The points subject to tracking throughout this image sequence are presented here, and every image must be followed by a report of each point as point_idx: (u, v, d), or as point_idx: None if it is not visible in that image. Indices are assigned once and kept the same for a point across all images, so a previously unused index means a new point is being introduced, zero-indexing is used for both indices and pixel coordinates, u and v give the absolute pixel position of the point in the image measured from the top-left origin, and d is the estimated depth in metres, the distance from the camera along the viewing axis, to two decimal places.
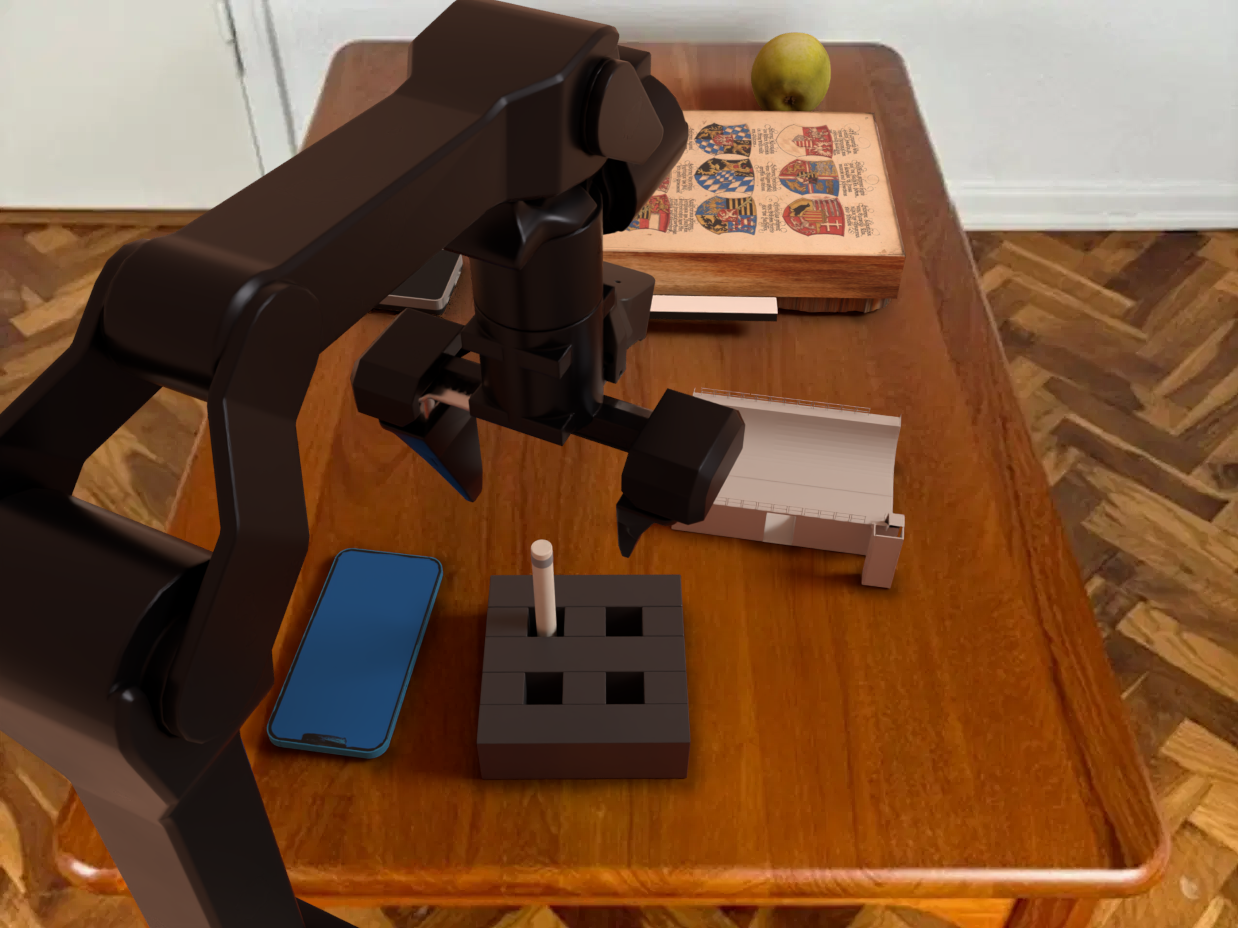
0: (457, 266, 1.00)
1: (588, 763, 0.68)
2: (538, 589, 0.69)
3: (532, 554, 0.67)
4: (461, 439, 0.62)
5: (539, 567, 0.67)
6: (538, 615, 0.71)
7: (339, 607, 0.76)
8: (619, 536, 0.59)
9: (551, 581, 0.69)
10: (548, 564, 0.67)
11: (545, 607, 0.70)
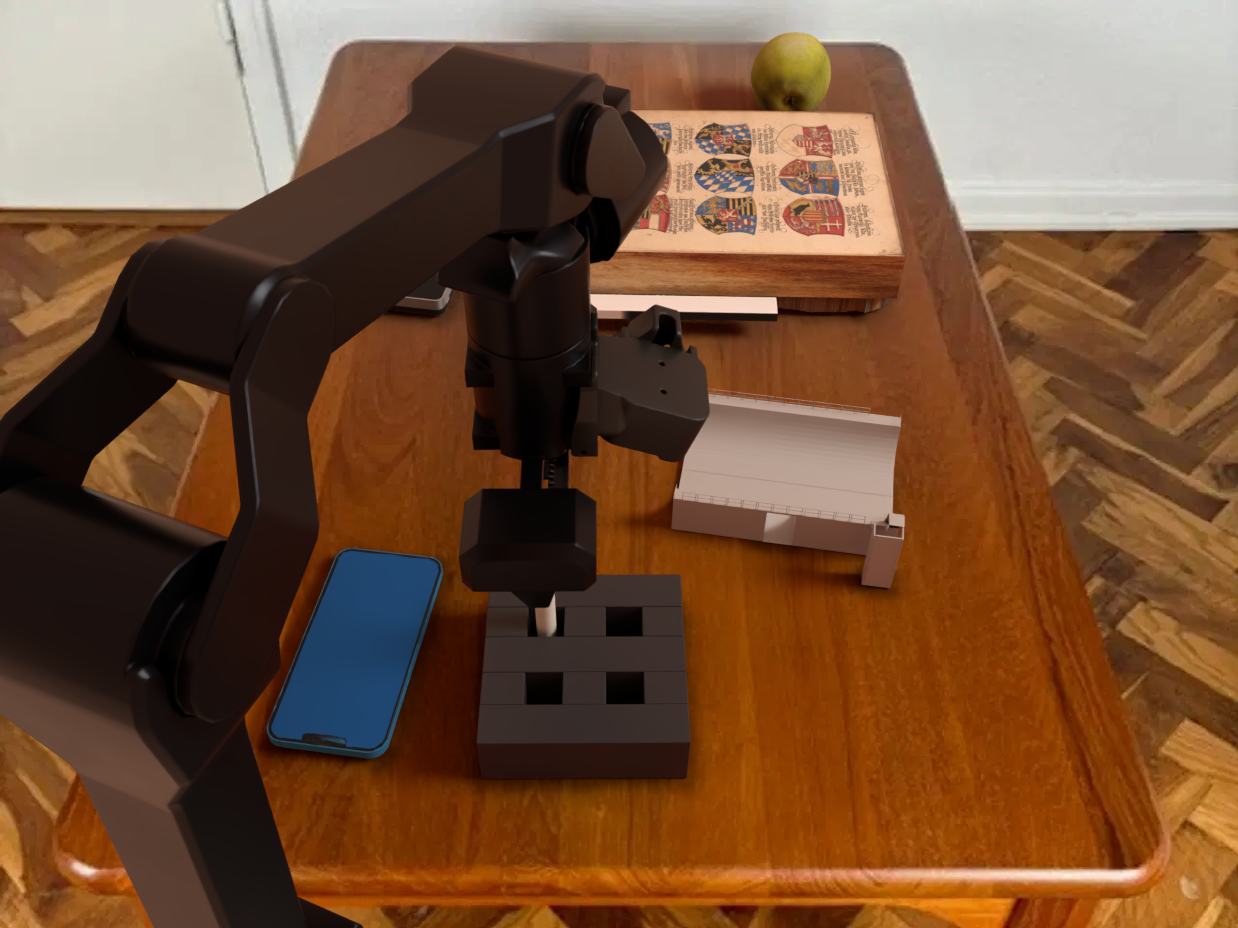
0: None
1: (588, 763, 0.68)
2: None
3: None
4: None
5: None
6: (538, 615, 0.71)
7: (339, 607, 0.76)
8: None
9: None
10: None
11: None
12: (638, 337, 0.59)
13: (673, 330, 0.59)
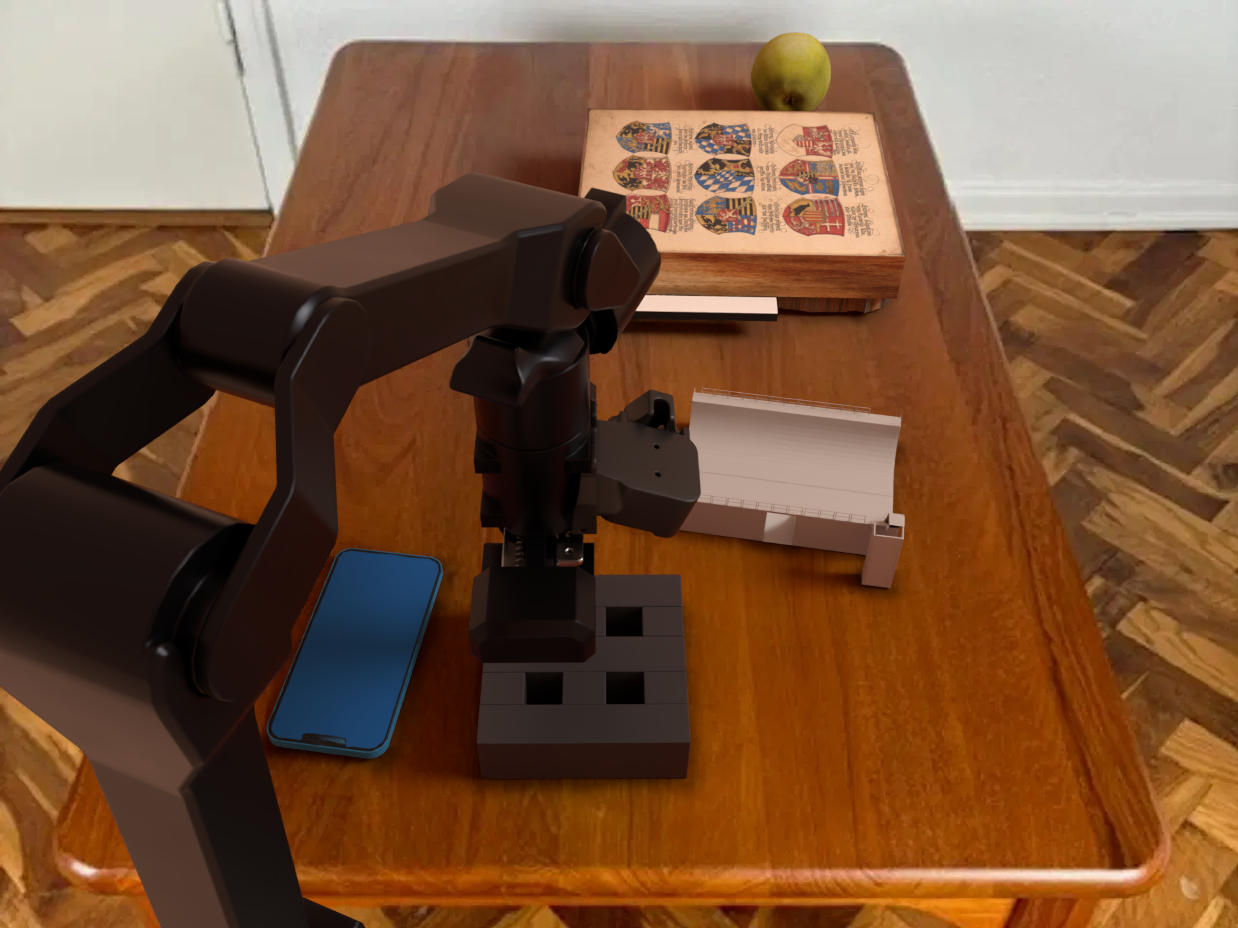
0: None
1: (588, 763, 0.68)
2: None
3: None
4: None
5: None
6: None
7: (339, 607, 0.76)
8: None
9: None
10: None
11: None
12: (635, 421, 0.63)
13: (667, 414, 0.64)
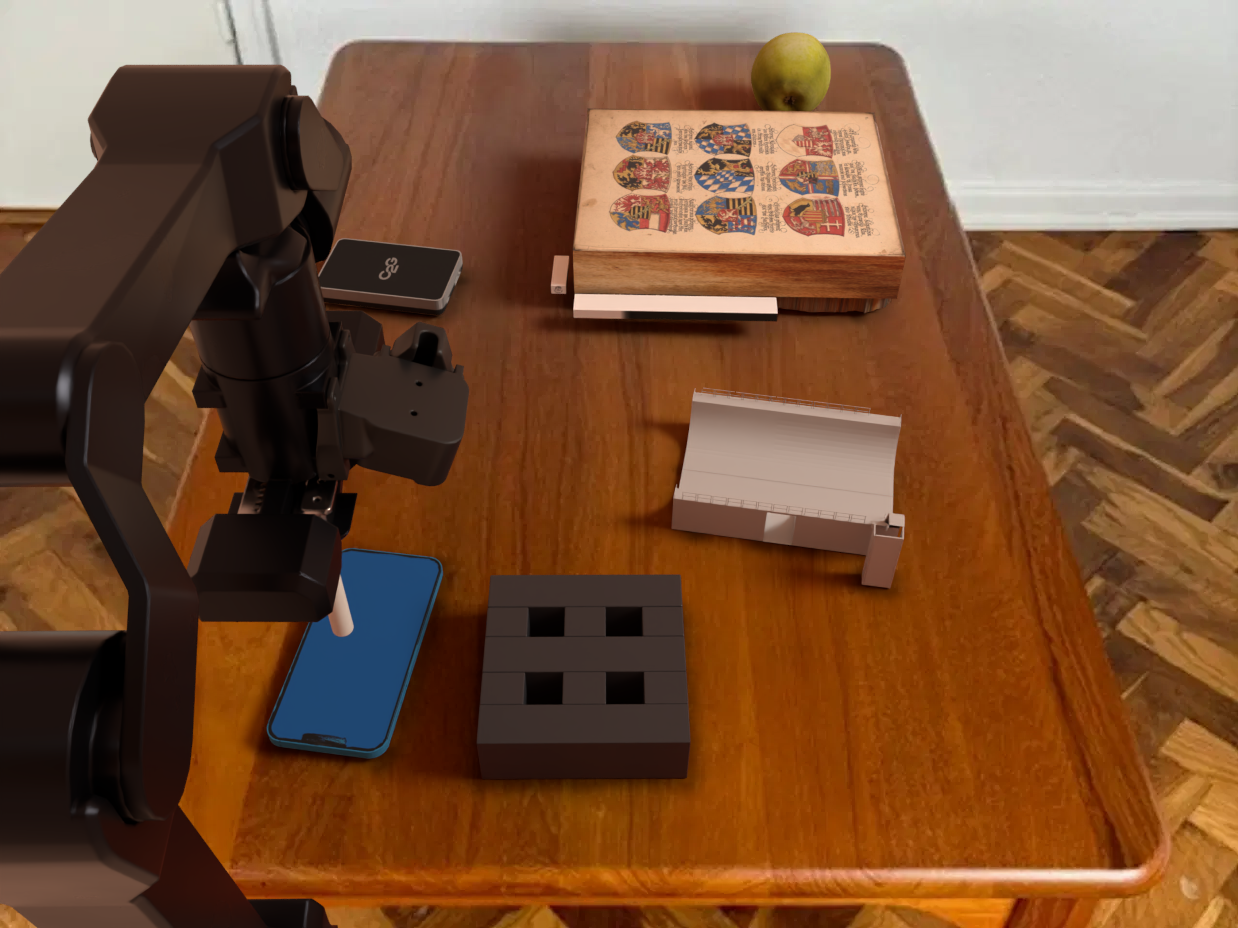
0: (457, 266, 1.00)
1: (588, 763, 0.68)
2: None
3: None
4: None
5: None
6: None
7: None
8: None
9: None
10: None
11: None
12: (398, 356, 0.57)
13: (436, 348, 0.57)
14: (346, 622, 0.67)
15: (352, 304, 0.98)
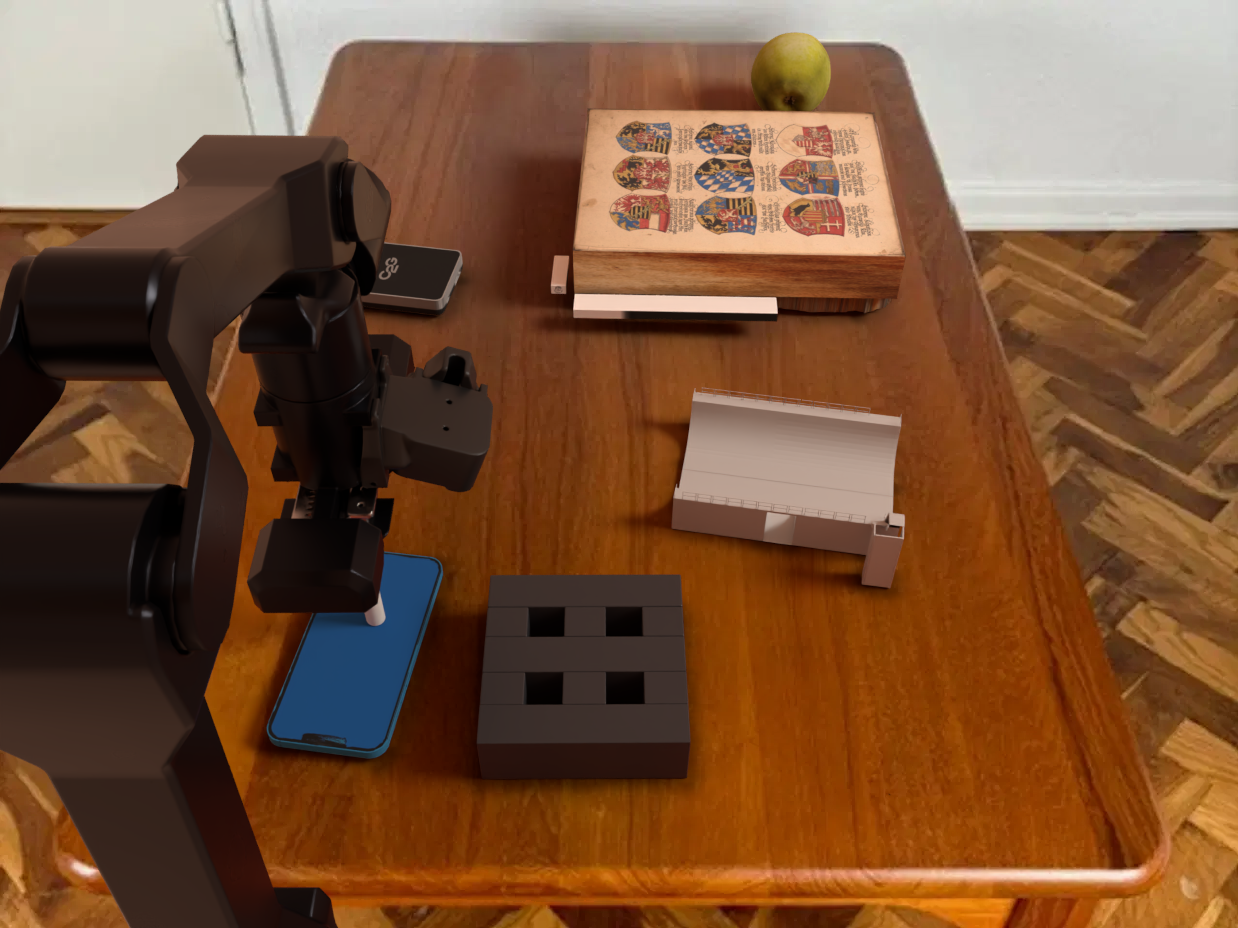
0: (457, 266, 1.00)
1: (588, 763, 0.68)
2: None
3: None
4: None
5: None
6: None
7: None
8: None
9: None
10: None
11: None
12: (430, 377, 0.64)
13: (463, 370, 0.64)
14: (379, 612, 0.75)
15: None
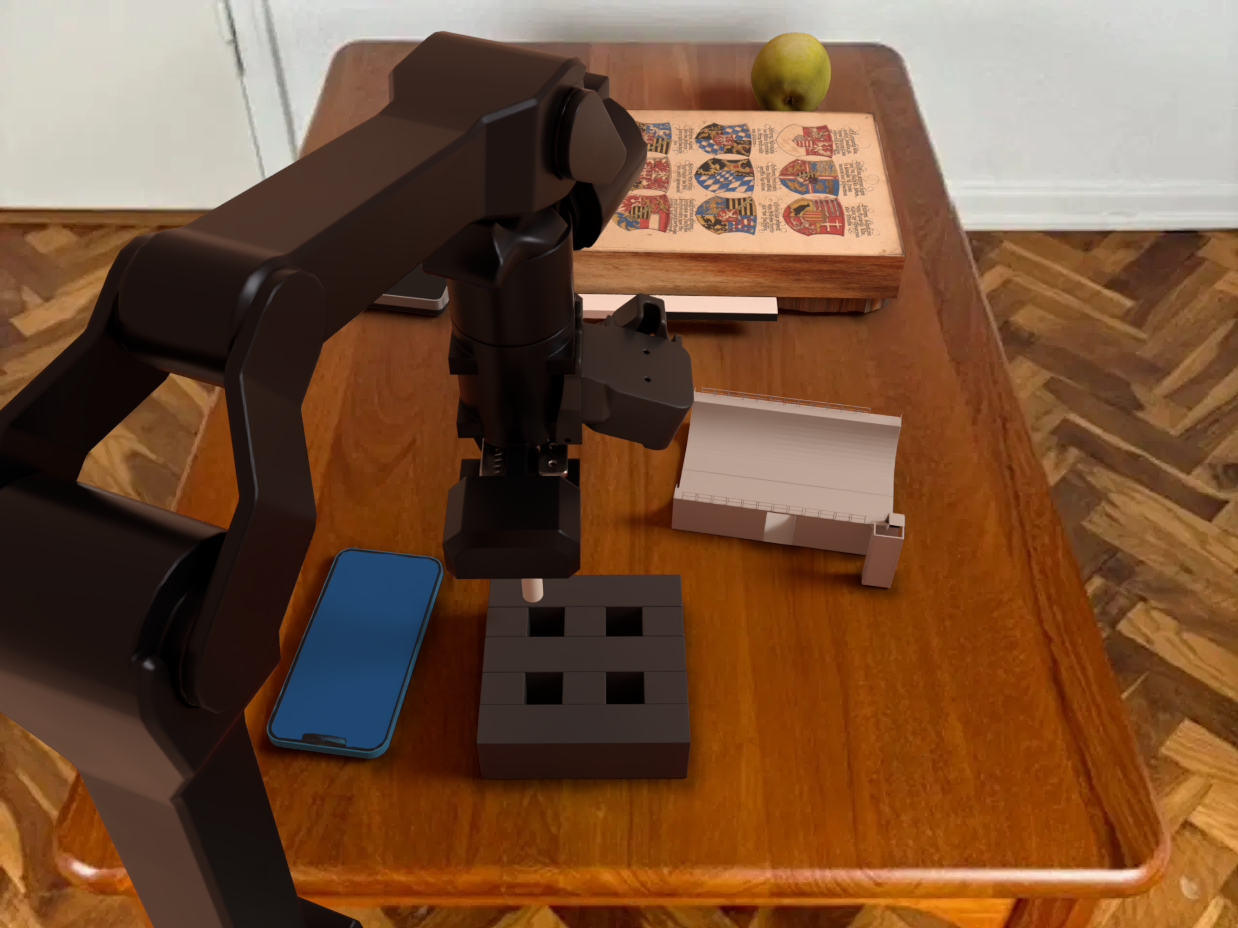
0: None
1: (588, 763, 0.68)
2: None
3: None
4: None
5: None
6: None
7: (339, 607, 0.76)
8: None
9: None
10: None
11: None
12: (623, 326, 0.59)
13: (658, 318, 0.59)
14: (539, 587, 0.69)
15: None
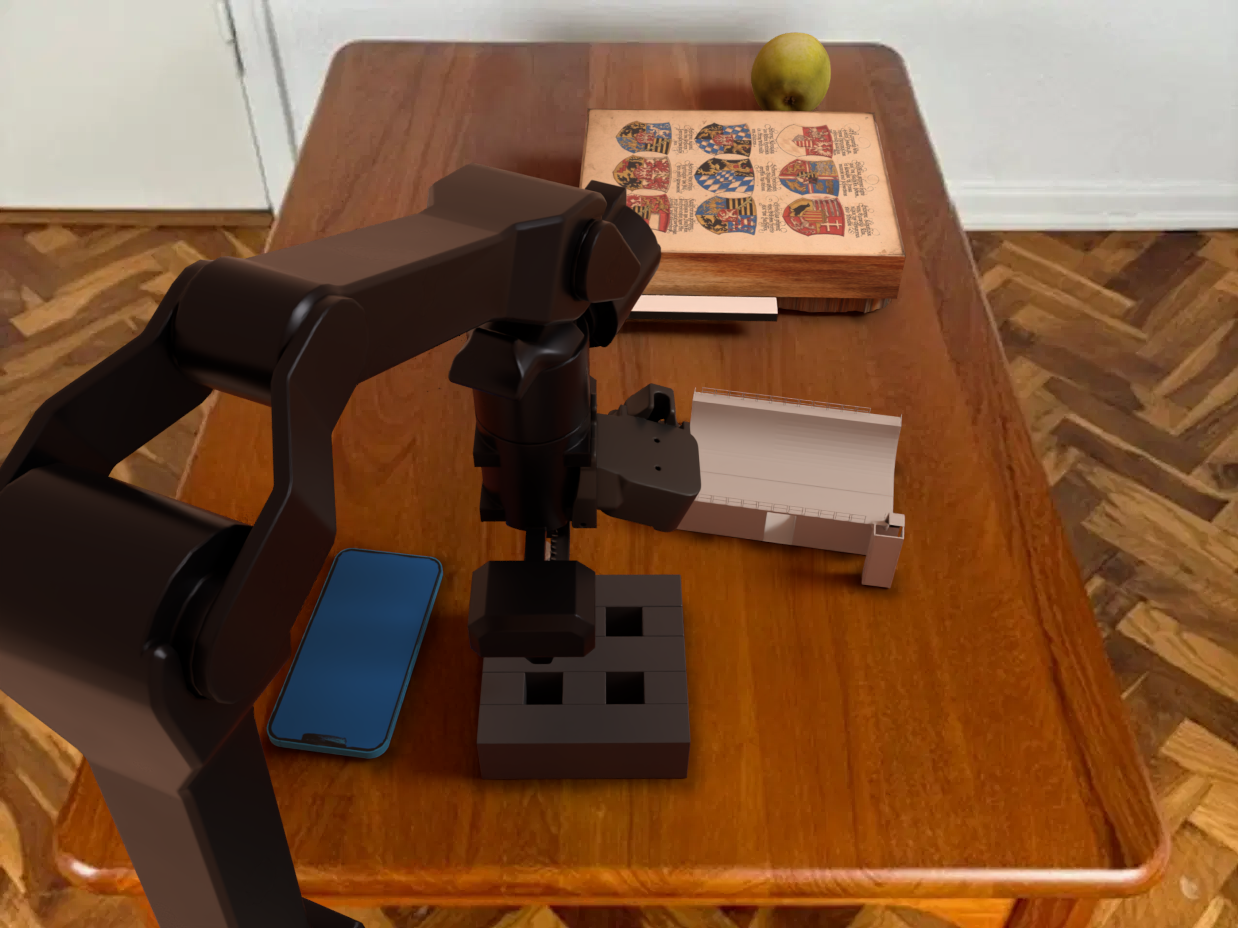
0: None
1: (588, 763, 0.68)
2: None
3: None
4: None
5: None
6: None
7: (339, 607, 0.76)
8: None
9: None
10: None
11: None
12: (635, 415, 0.63)
13: (667, 408, 0.63)
14: None
15: None
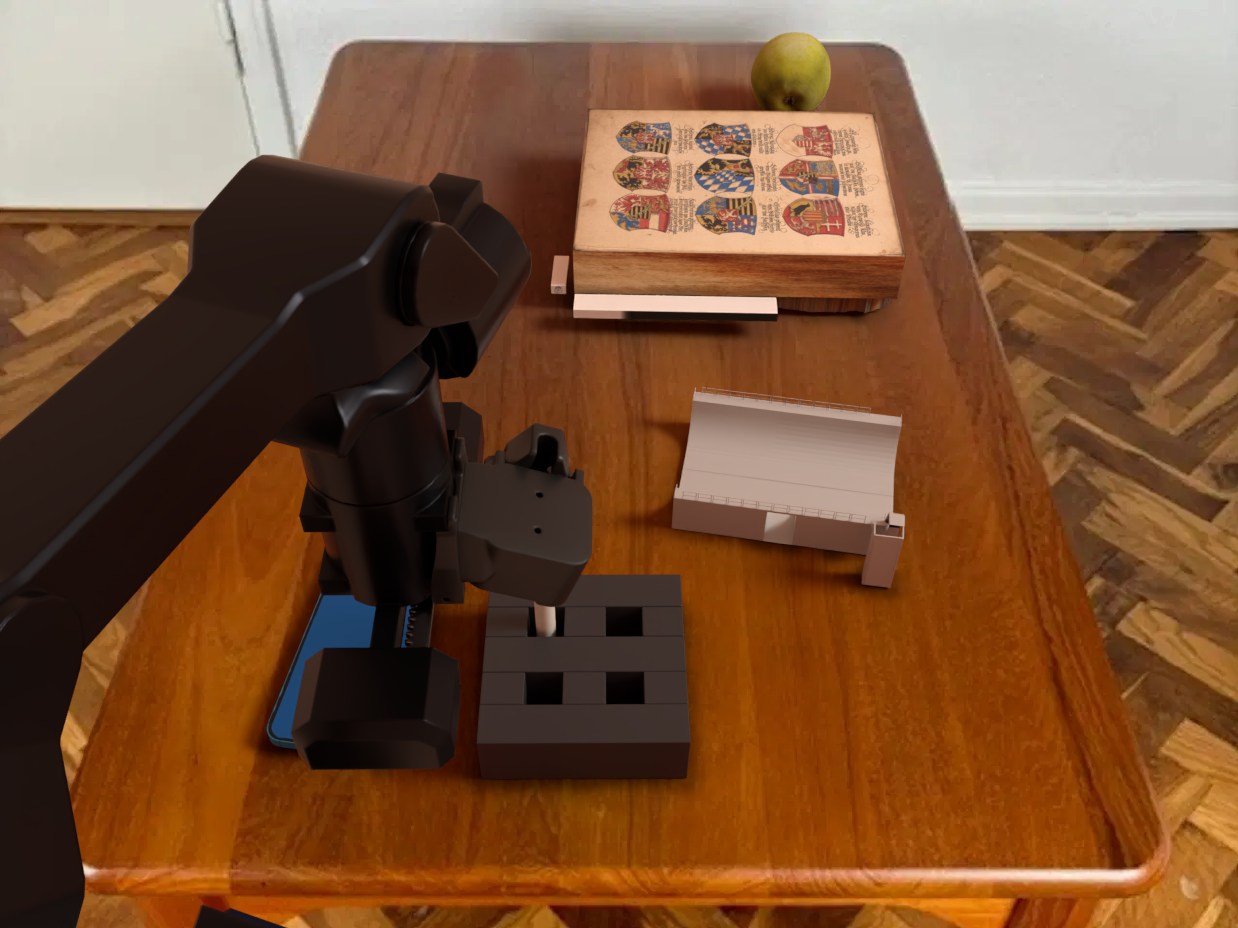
0: None
1: (588, 763, 0.68)
2: None
3: None
4: None
5: None
6: (537, 616, 0.71)
7: (339, 607, 0.76)
8: None
9: None
10: None
11: (544, 608, 0.70)
12: (514, 463, 0.52)
13: (555, 453, 0.52)
14: None
15: None
